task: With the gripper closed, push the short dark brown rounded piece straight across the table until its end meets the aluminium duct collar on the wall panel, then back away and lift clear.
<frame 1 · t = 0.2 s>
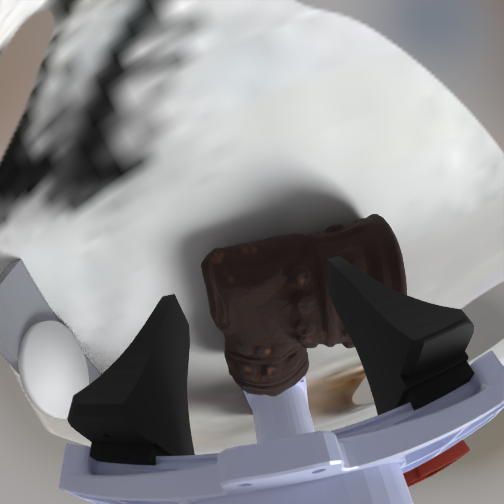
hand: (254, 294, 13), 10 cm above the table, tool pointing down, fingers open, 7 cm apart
plant pot: (404, 427, 57), on the table
duct panel: (61, 333, 26), on the table
dark brown rounded piece: (292, 286, 27), on the table
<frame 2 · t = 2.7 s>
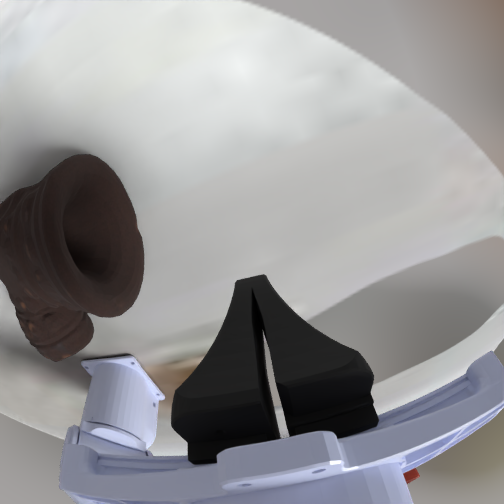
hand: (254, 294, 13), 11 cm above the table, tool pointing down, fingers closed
dark brown rounded piece: (71, 248, 22), on the table
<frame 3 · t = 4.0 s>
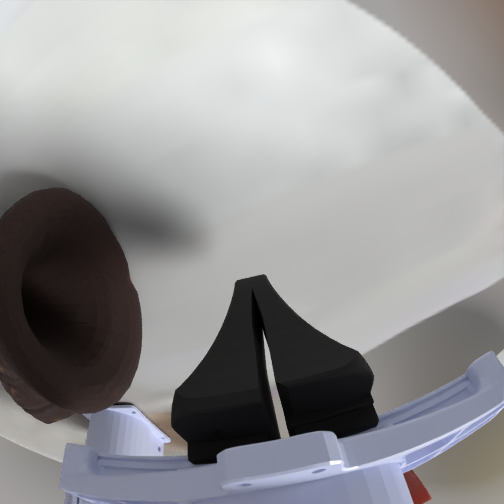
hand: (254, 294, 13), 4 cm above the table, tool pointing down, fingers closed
plant pot: (354, 462, 47), on the table
dark brown rounded piece: (52, 296, 17), on the table
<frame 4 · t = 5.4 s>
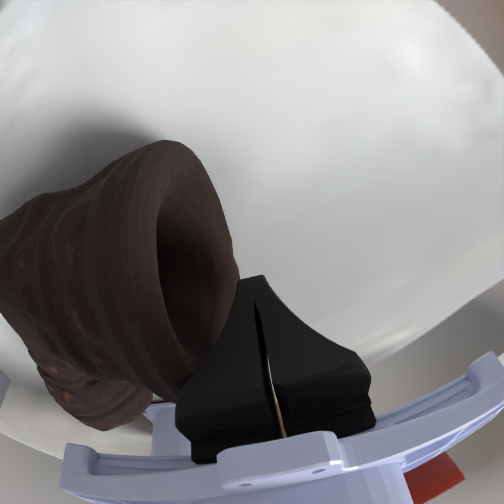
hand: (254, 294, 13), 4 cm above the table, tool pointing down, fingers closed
plant pot: (389, 449, 47), on the table
dark brown rounded piece: (117, 281, 17), on the table, touching gripper
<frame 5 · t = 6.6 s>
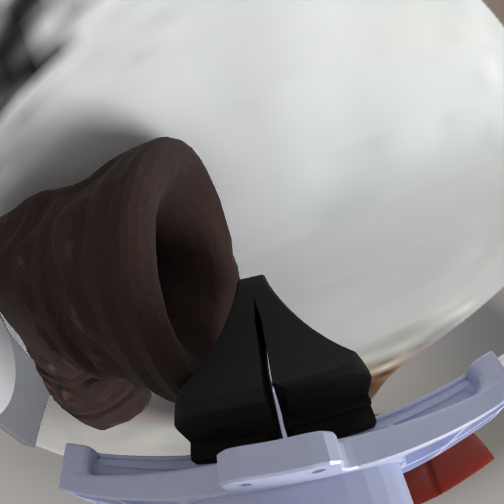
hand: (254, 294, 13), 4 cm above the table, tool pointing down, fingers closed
plant pot: (420, 435, 47), on the table
dark brown rounded piece: (116, 279, 17), on the table, touching gripper
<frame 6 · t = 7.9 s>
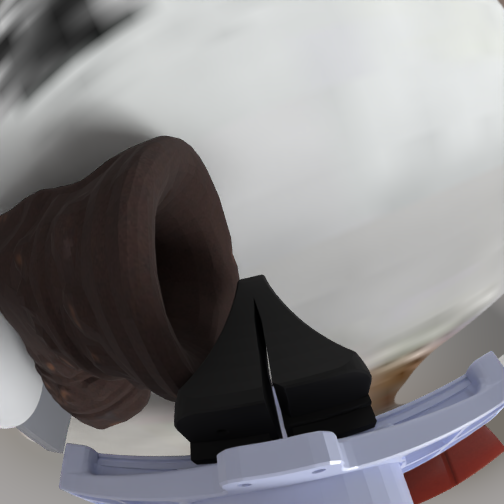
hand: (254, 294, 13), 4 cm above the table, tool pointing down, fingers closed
plant pot: (434, 428, 47), on the table
duct panel: (11, 306, 17), on the table
dark brown rounded piece: (116, 278, 17), on the table, touching gripper
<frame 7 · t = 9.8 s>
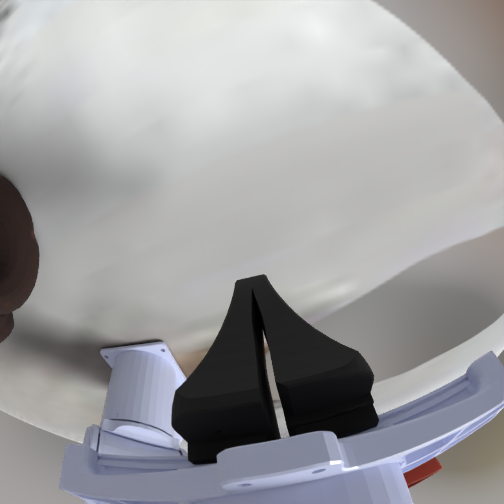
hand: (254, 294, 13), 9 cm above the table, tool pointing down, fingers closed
plant pot: (363, 435, 51), on the table
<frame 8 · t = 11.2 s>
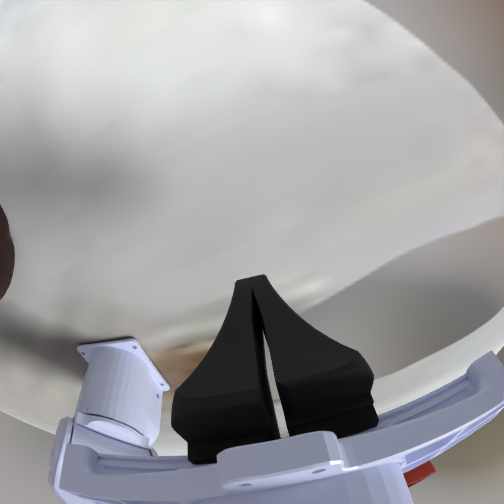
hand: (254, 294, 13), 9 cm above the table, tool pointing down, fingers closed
plant pot: (355, 436, 50), on the table
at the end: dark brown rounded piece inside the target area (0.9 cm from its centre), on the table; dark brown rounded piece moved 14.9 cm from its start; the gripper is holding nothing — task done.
